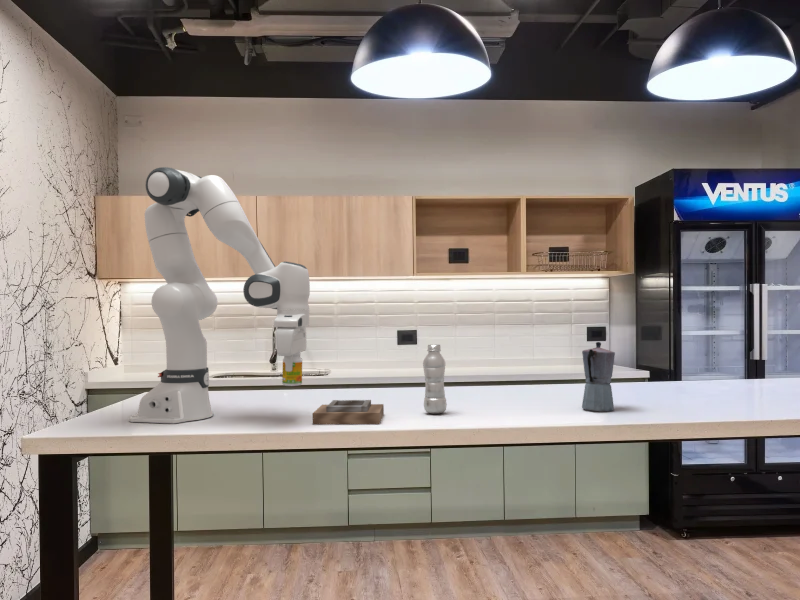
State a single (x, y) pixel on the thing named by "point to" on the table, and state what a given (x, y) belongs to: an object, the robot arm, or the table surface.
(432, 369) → the plastic bottle
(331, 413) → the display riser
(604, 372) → the moka pot
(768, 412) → the table surface
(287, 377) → the supplement bottle
